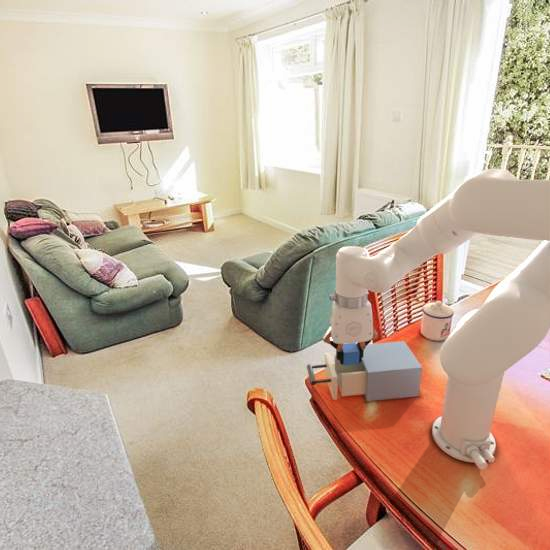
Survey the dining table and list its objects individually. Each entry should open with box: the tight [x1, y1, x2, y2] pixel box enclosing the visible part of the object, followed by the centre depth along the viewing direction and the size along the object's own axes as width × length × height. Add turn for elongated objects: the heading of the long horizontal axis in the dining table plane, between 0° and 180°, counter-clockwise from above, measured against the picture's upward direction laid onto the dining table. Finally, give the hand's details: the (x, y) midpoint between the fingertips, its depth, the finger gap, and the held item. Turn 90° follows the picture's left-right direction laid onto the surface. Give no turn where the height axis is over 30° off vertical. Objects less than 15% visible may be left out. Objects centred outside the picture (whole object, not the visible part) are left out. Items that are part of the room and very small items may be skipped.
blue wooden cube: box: [342, 342, 360, 366], centre depth 96 cm, size 4×4×4 cm
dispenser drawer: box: [306, 351, 367, 401], centre depth 98 cm, size 18×10×7 cm, turn 94°
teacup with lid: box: [420, 300, 455, 342], centre depth 119 cm, size 12×9×12 cm
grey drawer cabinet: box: [361, 340, 423, 402], centre depth 99 cm, size 14×12×9 cm
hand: (349, 359), depth 97 cm, fingers closed on blue wooden cube, 4 cm apart
